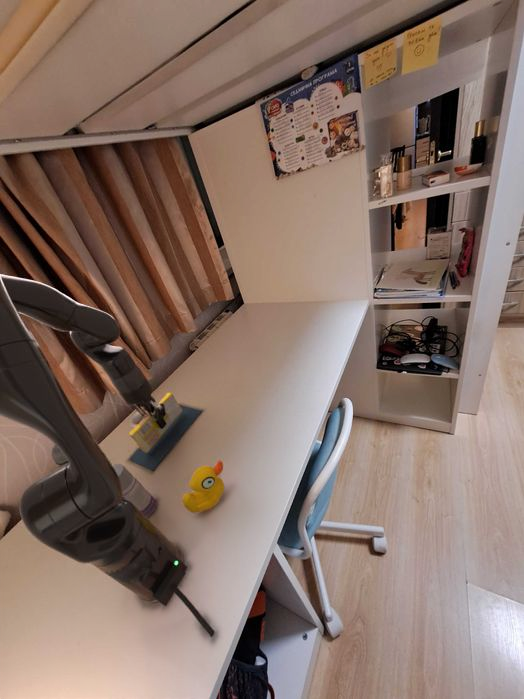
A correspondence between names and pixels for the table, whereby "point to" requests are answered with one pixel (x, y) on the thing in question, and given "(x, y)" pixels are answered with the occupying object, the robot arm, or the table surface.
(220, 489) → the duckling
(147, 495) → the container
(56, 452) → the beverage cup
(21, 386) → the robot arm
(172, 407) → the candy box
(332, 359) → the table surface
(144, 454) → the mat
